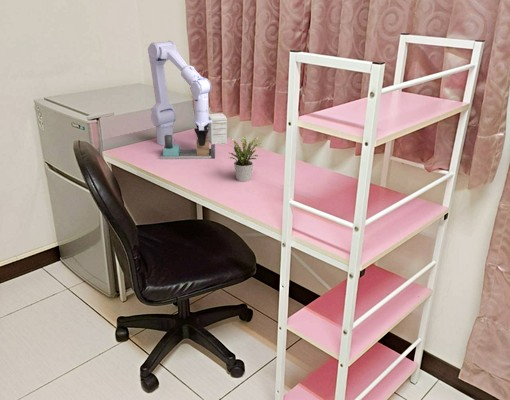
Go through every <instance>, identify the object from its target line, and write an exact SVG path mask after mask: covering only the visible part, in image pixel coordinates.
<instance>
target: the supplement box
mask: <svg viewBox="0 0 510 400" xmlns="http://www.w3.org/2000/svg"><path fill="white" fill-rule="evenodd" d="M209 120H212V123H209V125H208V128H207V129H209V131H208V133H207V139H209V143H210V144H215V145H216V144H220V145H219V146H224V144H227V145H228V118H227V116H226V115H225V114H224V113H222V112H220V113H209Z"/></svg>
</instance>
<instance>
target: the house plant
mask: <svg viewBox="0 0 510 400" xmlns="http://www.w3.org/2000/svg"><path fill="white" fill-rule="evenodd" d="M259 138H261V137H259V136H258V137H256V138H253V140H252V141H251V142H249V143H248V144H247V139H246V137H245V136H244V135H242V138H240V137H238V139H239V140H240V142H241V146H242V148H241V146H239V144H238V142H237V141H236V140H235V139H233V138H231V140H232V142H233V144H234V147H233V146H231V145H230V144H229V143H227V145H229V146H230V147H232V148H233V151H234V152H229V154H231V155H232V156H229V157H228V159H232V160H235V161H233V166H234V171H235V177H236V180H237V181H238V182H249V181H250V180H251V179H252V178H251V177H252V173H253V167H254V162H253V161H252V160H257V158H258V159H259V158H260V157H259V155H258V154H254V153H255V152H256V151H257V150H258V148H256V147H257V146H259V145H264V142H263V143H261V142H260V141H259V142H257V143H255V142H256V141H257V140H258V139H259ZM254 143H255V144H254ZM253 154H254V155H253ZM256 157H257V158H256ZM257 161H258V160H257Z"/></svg>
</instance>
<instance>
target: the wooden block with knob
mask: <svg viewBox="0 0 510 400" xmlns="http://www.w3.org/2000/svg"><path fill="white" fill-rule="evenodd" d="M196 149H197V156H209V149H210V141H209V139H208V138H206V142H205V146H200V145H199V142H198V138H196Z"/></svg>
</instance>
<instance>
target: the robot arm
mask: <svg viewBox="0 0 510 400" xmlns="http://www.w3.org/2000/svg"><path fill="white" fill-rule="evenodd" d="M147 51H148V52H147V53H148V59H149V60H148V61H149V63H150V71H151V78H152V85H153V92H154V98H155V104H154V105H153V106H152V107H151V110H150V111H151V114H150V116H151V117H150V119H151V120H150V121H151V123H152V124H153V125H154V126H155V131H156V133H155V134H156V143H157V145H161V146H165V135H172V144H173V145H174V141H176V139H174V128H173V127H174V126H173V125H175V122H176V120H177V114H176V110H175V106H174V105H173V104H172V103H170V101H169V96H168V88H167V82H166V81H167V80H166V73H165V67H164V65H165V64H166V62H167V61H170V62H171V63H172V64H173V65H174V66H175V67H176V68H177V69H178V70H179V71H180V75H181V77H182V79H184V81H185V82H186V83H187V84H188V85H189V87H190V88H189V89H190V92H191V95H192V99H193V109H194V110H193V111H194V120H193V123H194V124H195V126H196V128H194V130H193V131H194V132H195V135H196V138H197V139H198V142H199V145H200V146H205V142H206V139H207V137H208V131H209V129H208V125H209V123H212V120H209V114H210V112H209V110H210V109H209V106H210V105H209V93H210V92H211V91H212V83H211V81H210V80H209V79H208V78H206V77H203V76H202V75H201V74H200V73H199V72H198V71H197V70H196V69H195V67H194V65H193V66H192V65H188V64H187V63H186V61H185V60H184V59H183V57H182V56H181V54H180V53H179V52H178V45H175V43H174V41H171V40H168V41H167V40H166V41H158V42H154V41H153V42H151V43H150V44H149V45H148V48H147Z"/></svg>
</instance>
